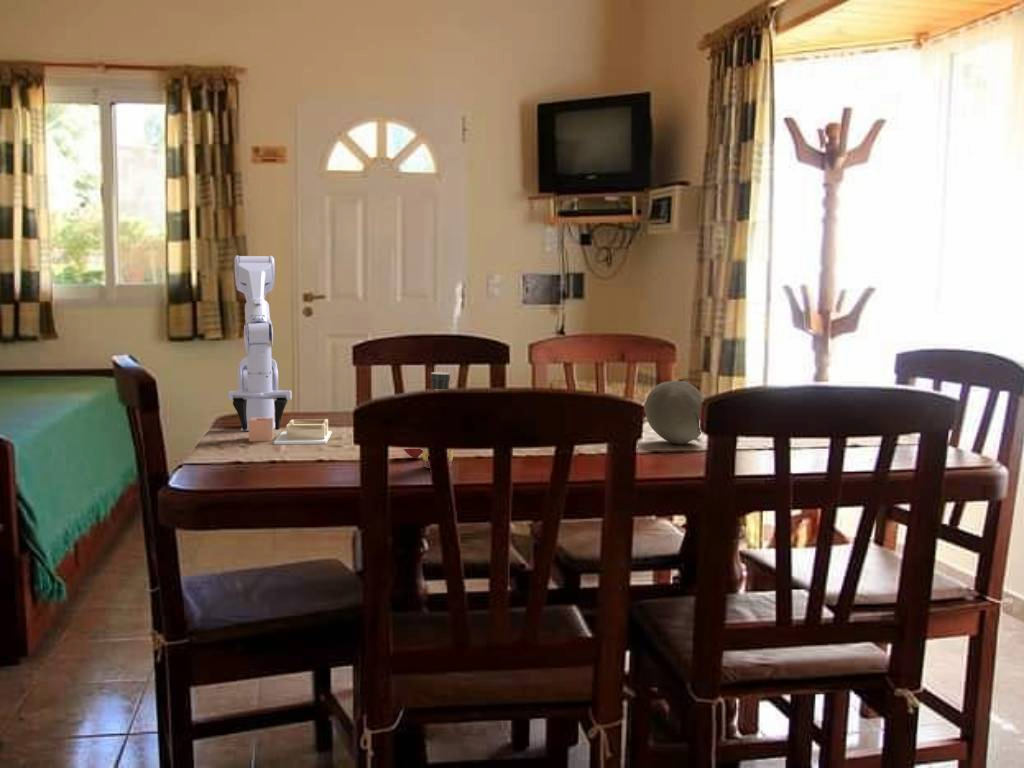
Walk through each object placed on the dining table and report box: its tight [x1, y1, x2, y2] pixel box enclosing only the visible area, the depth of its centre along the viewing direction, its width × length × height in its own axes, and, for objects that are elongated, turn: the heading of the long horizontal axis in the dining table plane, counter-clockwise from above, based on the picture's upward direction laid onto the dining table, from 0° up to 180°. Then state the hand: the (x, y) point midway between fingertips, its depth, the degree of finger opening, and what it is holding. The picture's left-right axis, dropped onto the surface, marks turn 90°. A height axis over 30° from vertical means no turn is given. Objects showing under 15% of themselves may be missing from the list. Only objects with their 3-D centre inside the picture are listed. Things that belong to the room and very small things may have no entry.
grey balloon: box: [644, 380, 705, 445], centre depth 226 cm, size 14×14×15 cm
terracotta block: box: [248, 417, 275, 442], centre depth 230 cm, size 5×5×5 cm
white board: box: [273, 430, 333, 445], centre depth 231 cm, size 14×12×1 cm
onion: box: [403, 449, 423, 459], centre depth 208 cm, size 6×6×8 cm
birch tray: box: [285, 418, 329, 440], centre depth 231 cm, size 9×9×3 cm
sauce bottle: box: [422, 371, 454, 469], centre depth 198 cm, size 7×6×20 cm
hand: (261, 429), depth 230 cm, fingers open, 7 cm apart
